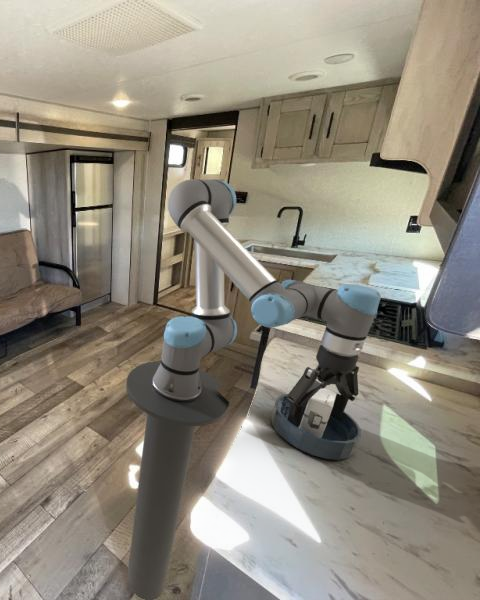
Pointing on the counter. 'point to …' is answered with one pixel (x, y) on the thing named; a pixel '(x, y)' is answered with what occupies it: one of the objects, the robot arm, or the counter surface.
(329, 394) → the ink box
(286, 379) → the counter surface
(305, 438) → the bowl
